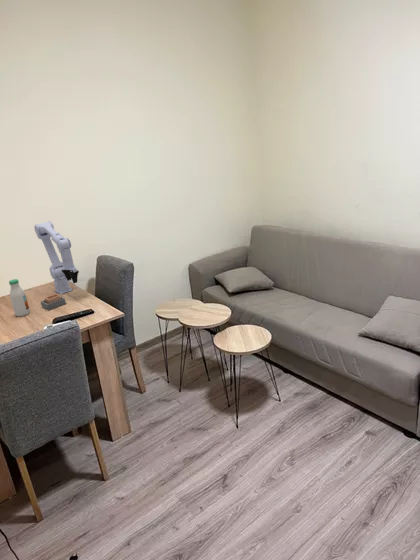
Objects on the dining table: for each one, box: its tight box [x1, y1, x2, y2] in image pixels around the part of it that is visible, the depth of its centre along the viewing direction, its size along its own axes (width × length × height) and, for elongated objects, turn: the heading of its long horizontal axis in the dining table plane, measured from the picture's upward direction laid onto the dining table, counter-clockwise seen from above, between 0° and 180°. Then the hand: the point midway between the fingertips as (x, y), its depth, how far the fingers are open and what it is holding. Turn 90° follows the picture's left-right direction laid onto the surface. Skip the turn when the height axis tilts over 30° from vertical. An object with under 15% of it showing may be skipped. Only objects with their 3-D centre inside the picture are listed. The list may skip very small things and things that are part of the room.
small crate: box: [44, 293, 62, 304], centre depth 230 cm, size 5×7×5 cm
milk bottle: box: [8, 278, 31, 317], centre depth 220 cm, size 8×8×20 cm
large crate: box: [40, 295, 67, 311], centre depth 230 cm, size 9×11×4 cm
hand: (72, 281), depth 237 cm, fingers open, 7 cm apart
